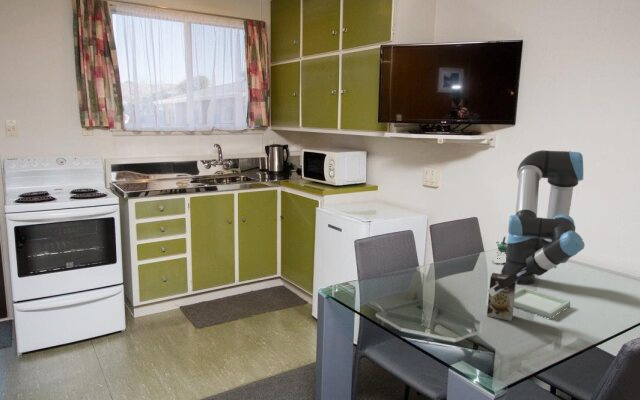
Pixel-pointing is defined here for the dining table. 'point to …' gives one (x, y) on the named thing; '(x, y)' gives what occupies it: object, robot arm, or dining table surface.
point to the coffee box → (501, 299)
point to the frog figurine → (502, 247)
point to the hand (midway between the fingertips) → (496, 290)
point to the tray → (539, 302)
